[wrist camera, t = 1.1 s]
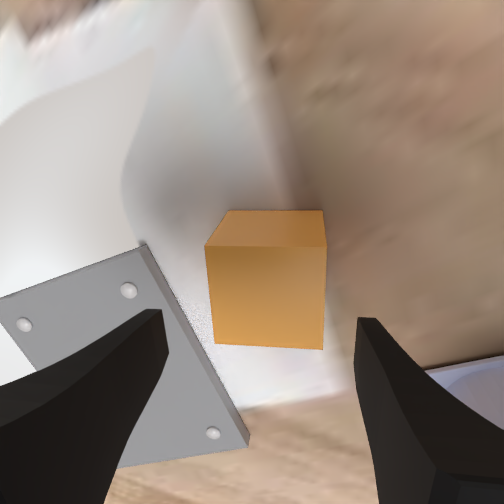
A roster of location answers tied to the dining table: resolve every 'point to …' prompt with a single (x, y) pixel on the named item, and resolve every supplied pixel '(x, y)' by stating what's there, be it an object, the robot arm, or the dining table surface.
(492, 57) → the dining table surface
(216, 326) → the orange cube
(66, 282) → the plate
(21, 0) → the dining table surface
